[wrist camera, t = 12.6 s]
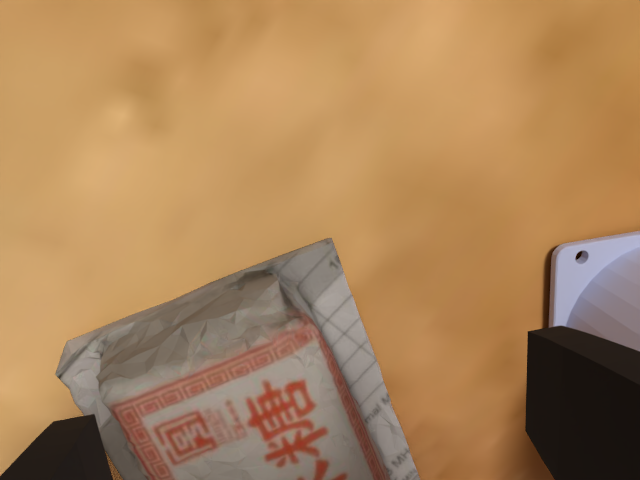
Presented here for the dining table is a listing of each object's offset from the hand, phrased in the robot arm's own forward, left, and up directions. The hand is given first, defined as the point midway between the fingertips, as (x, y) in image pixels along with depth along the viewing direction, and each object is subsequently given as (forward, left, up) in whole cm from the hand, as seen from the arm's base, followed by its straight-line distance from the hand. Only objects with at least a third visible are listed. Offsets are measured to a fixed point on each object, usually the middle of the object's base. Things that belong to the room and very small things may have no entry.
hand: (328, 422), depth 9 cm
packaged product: (+1, +10, -11) cm, 15 cm away
